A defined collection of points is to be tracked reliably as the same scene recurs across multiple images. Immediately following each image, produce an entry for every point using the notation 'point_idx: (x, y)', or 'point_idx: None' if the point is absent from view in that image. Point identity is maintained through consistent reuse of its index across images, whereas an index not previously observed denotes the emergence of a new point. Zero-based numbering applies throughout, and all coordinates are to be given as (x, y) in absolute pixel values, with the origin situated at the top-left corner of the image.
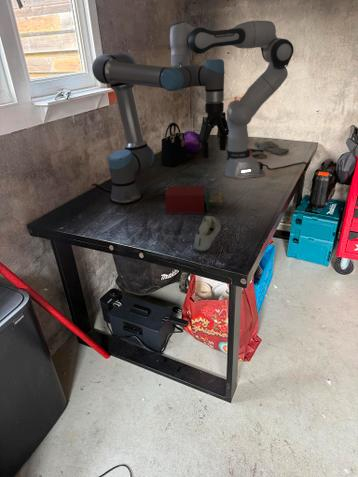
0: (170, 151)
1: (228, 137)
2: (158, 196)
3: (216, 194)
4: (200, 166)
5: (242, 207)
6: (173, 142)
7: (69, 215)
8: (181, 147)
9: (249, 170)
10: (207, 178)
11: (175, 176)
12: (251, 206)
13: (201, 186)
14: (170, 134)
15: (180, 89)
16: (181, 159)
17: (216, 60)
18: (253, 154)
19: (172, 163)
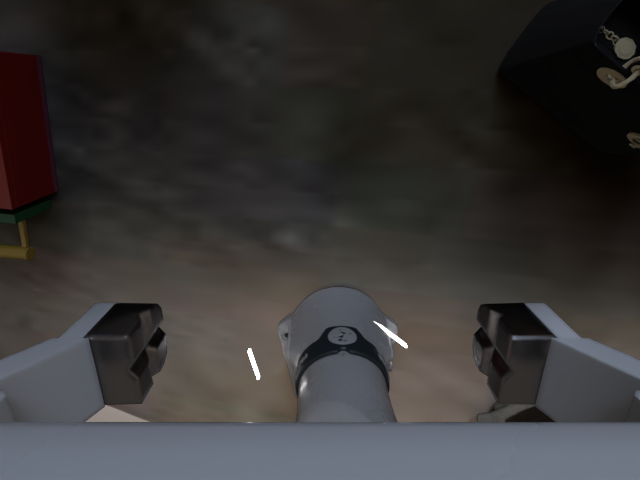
0: (543, 60)
1: (334, 398)
2: (112, 3)
3: (23, 240)
4: (465, 206)
5: (38, 298)
6: (605, 82)
7: None
8: (620, 131)
9: (256, 375)
10: (305, 222)
11: (354, 85)
12: (48, 321)
13: (1, 198)
14: None
15: (33, 359)
16: (565, 121)
17: None
18: (479, 417)
19: (505, 70)
